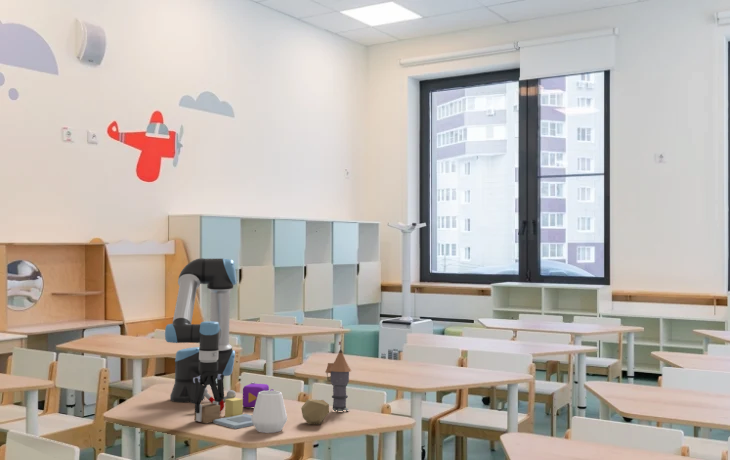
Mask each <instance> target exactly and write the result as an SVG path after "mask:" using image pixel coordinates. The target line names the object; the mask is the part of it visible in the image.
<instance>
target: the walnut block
mask: <svg viewBox="0 0 730 460" xmlns="http://www.w3.org/2000/svg"><path fill="white" fill-rule="evenodd" d="M201 404H202V421H201V422H199V421H196V413H195V412H194V418H193V419H194V420H193V421H195V422H199V423H202V424H210V423H213V420H215V419H220V418H221V412H220V405H216V404H213V403H211V402H208V403H207V402H205V403H201Z"/></svg>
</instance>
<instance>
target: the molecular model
mask: <svg viewBox="0 0 730 460" xmlns="http://www.w3.org/2000/svg"><path fill="white" fill-rule="evenodd" d="M236 393H237V392H236V391H235V390H233V389H229V390H228V391H227V392H226V395H224V399H222V401H221V402H220V413H221V412H222V411H223V410H224V409H225V399H230V398H236V395H237V394H236ZM203 396H205V397H204V398H205V399H207V400H208V401H209V403H213V401H215V400H214V397H213V396H212V395H210V393H209V391H208V388H207V387H206V388H205V391H204V394H203Z"/></svg>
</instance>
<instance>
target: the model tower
mask: <svg viewBox="0 0 730 460" xmlns="http://www.w3.org/2000/svg"><path fill="white" fill-rule="evenodd" d="M338 346H340V349H339V351H338V353H337V356H336V357H335V359H334V362H332V363H330V362H328V363H327V367H326V369H325V373H326V383H325V384H328V385H331V386H332V392H333V393H332V395H331V398H332V401H333V402H332V409H333V410H334V411H336V410H337V411H343V410H346V411H347V410H349V407H347V398H348V395H347V386H348V384H349V382H350V373H351V372H352V369H351V367H350V366H349V364H348V362H347V360H346V358H345V356H344V353H343V350H342V341H338ZM328 374H330V375H329V376H328ZM349 411H350V410H349Z"/></svg>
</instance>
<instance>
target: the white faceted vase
mask: <svg viewBox="0 0 730 460" xmlns="http://www.w3.org/2000/svg"><path fill="white" fill-rule="evenodd" d="M251 420H252V423H253V424H254V425H253V426H254V428H255V430H256V431H257V432H259V433H264V434H265V433H266V434H273V433H279V432H281V431H282V430H283V428H284V426H285V425H286V423H287V421H288V415H287V409H286V405H285V401H284V397H283V393H282V392H281V391H279V390H274V391H270V390H269V391H261V392H259V393H258V396H257V400H256V404H255V407H254V408H253V411H252V419H251Z"/></svg>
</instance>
